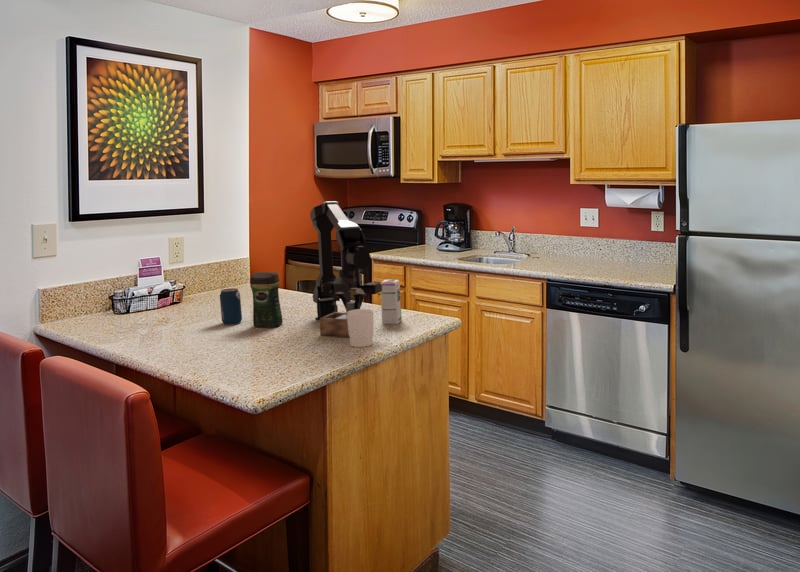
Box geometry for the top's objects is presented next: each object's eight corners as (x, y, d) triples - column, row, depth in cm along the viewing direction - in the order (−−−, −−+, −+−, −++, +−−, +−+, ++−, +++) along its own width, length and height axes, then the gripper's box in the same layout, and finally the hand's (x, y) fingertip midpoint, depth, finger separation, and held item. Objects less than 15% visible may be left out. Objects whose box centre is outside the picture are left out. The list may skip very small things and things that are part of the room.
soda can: (246, 321, 219) (243, 288, 217) (233, 326, 213) (230, 291, 211) (230, 320, 222) (228, 287, 220) (217, 324, 216) (215, 291, 214)
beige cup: (359, 340, 188) (357, 308, 186) (379, 343, 184) (378, 310, 182) (342, 346, 182) (341, 313, 180) (363, 349, 177) (362, 315, 176)
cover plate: (334, 322, 194) (333, 303, 193) (344, 318, 200) (343, 299, 199) (362, 324, 190) (361, 304, 189) (372, 319, 197) (371, 300, 196)
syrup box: (398, 324, 207) (397, 281, 205) (381, 324, 208) (379, 281, 206) (401, 320, 213) (400, 279, 210) (385, 320, 214) (383, 279, 211)
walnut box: (320, 335, 195) (319, 318, 194) (335, 328, 204) (334, 311, 203) (354, 338, 191) (353, 320, 190) (367, 330, 200) (367, 313, 199)
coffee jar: (285, 323, 214) (282, 270, 211) (276, 328, 207) (272, 274, 204) (260, 322, 216) (256, 270, 213) (250, 328, 209) (245, 274, 206)
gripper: (311, 268, 189) (314, 318, 191) (366, 269, 182) (368, 321, 184) (329, 263, 199) (331, 311, 201) (381, 264, 192) (383, 313, 194)
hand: (352, 314), depth 195 cm, fingers closed on cover plate, 2 cm apart
